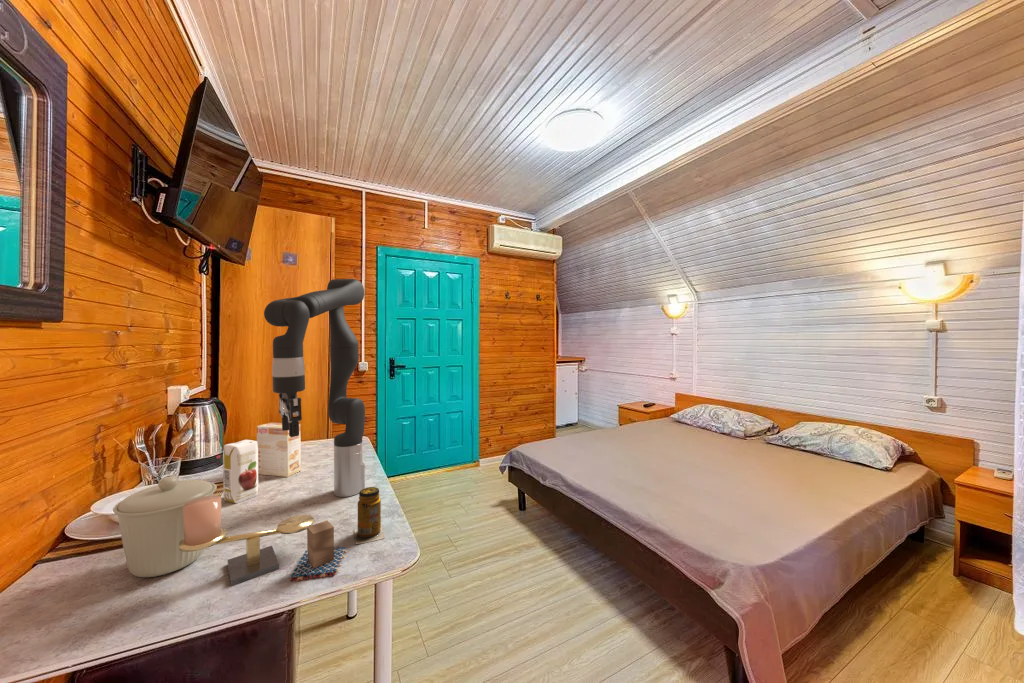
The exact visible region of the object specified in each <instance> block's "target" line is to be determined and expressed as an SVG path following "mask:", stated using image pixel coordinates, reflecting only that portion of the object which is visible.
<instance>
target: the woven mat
mask: <svg viewBox="0 0 1024 683" xmlns="http://www.w3.org/2000/svg"><path fill="white" fill-rule="evenodd" d="M345 548H346V547H343V548H342V546H339V547H335V546H334V560H333V561H330V562H328V563H326V564H323V565H321V566H318V567H316V568H313V567H312V566H311V564H310V563H309V561H308V556H307V550H305V552H304V553H302V554H301V555H300V556H301V557H300V558H299V559H298V562H297V563H296V565H294V568H293V569H292V572H291V573H290V576H289V578H290V582H296V581H298V582H301V581H302V580H306V581H308V579H309V578H310V579H316V578H318V579H319V578H321V579H324V578H326V577H329V578H331V577H332V576H335V575H336V574H337V573H340V571H341V570H340V569H339V567H341V566H343V565H342V563H341V562H342V561H343V559H344V558H346V556H345V555H344V554H346V553H347V550H346V549H345Z"/></svg>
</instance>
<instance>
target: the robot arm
mask: <svg viewBox="0 0 1024 683" xmlns="http://www.w3.org/2000/svg"><path fill="white" fill-rule="evenodd" d="M326 287H327V288H326V289H323V290H316V291H311V292H308V293H305V294H301V295H298V296H295V297H288V298H280V299H275V300H272V301H270V302H269V303H268V304H267V305H266V306H265V308H264V310H263V316H264V317H263V318H264V319H265V321H266V322H267V323H268V324H270V325H271V326H274V327H282V328H283V327H287V329H286V332H285V333H284V334H282V335H277V336H275V337H274V338H273V340H272V366H271V367H272V368H271V371H272V373H271V374H272V375H271V376H272V392H273V393H274V394H278V402H279V403H278V404H279V406H278V408H279V409H278V414H280V417H281V423H282V430H283V431H286V430H289V436H290V437H295V436H298V435H299V424H300V421H302V420H303V417H302V398H301V397H298V394H297V393H298V392H304V391H305V389H306V374H305V373H306V372H305V371H306V370H305V360H304V359H305V358H304V340H305V338H306V337H305V336H306V332H307V329H308V325H309V321H310V319H313V318H314V317H317V316H320V315H322V314H325V313H327V312H328V318H329V319H328V320H329V354H330V355H329V358H330V376H329V377H330V381H329V383H330V384H329V395H328V407H327V409H328V410H327V413H328V417H329V420H330V421H331V423H333V424H336V425H345V429H344V430H345V431H344V432H341V433H339V434H337V435H335V436H334V438H333V487H334V488H333V490H334V491H333V492H334V493H333V494H334V496H336V497H340V498H344V497H345V498H346V497H351V496H356V495H359V492H360V491H361V490H362V489H364V488H366V484H365V481H366V478H365V477H366V476H365V474H366V472H365V471H366V470H365V467H366V466H365V465H366V464H365V463H364V462H363V460H364V459H363V437H364V433H365V422H366V407H365V406H366V405H365V403H364V401H363V400H362V399H361V398H356V397H355V398H354V397H347V396H348V395H347V389H348V383H349V380H350V378H351V376H352V374H353V372H354V371H355V370H356V367H357V366H358V362H359V356H360V354H359V352H360V351H359V341H358V338H357V336H356V334H355V333H354V331H353V330H352V328H351V327H350V326H349V324H348V322H347V319H346V316H345V312H344V311H345V310H344V308H345V306H356V305H359V304H361V303H362V301H363V300H364V298H365V288H364V285H363V283H362V282H361V281H360V280H358V279H354V278H334V279H333V278H332V279H330V281H328V283H327V286H326Z"/></svg>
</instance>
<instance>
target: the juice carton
mask: <svg viewBox="0 0 1024 683" xmlns="http://www.w3.org/2000/svg"><path fill="white" fill-rule="evenodd" d="M222 461H223V462H222V466H223V467H222V469H223V470H222V471H223V472H222V474H223V498H224V501H226V502H228V503H232V504H240V503H242V502H244V501H247V500H249V499H252V498H255V497H257V496H258V493H259V474H258V445H257V440H251V439H243V440H242V439H241V440H240V441H237V442H231V443H227V444H224V445H223V454H222Z"/></svg>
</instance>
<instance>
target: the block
mask: <svg viewBox="0 0 1024 683" xmlns="http://www.w3.org/2000/svg"><path fill="white" fill-rule="evenodd" d="M306 531H307V532H306V534H307V535H306V536H307V537H306V540H307V541H306V542H307V543H306V544H307V545H306V546H307V550H306V551H307V556H308V561H309V563H310V564H311V566H312V567H313V568H316V567H318V566H321V565H323V564H326V563H328V562H330V561H333V560H335V559H334V550H335V549H334V547H335V526H333V525H332V523H330V521H328V520H324V521H320V522H319V523H318V522H317V523H315V524H313V525H312V526H309V527H307V529H306ZM333 562H334V561H333Z"/></svg>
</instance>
